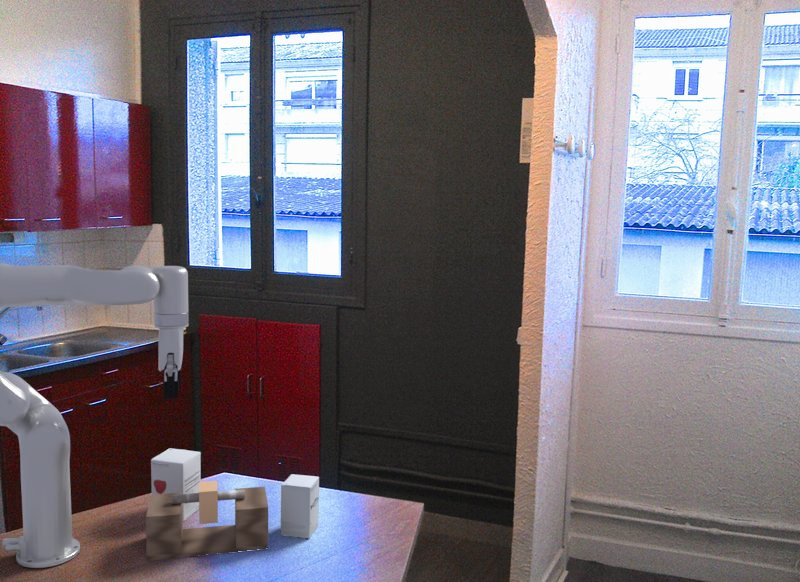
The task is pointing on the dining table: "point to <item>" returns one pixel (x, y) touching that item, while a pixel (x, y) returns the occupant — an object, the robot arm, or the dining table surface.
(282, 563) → the dining table surface
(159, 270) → the robot arm
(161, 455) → the supplement box
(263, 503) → the rod slider mechanism
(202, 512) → the cord clip
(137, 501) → the dining table surface
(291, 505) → the supplement box
